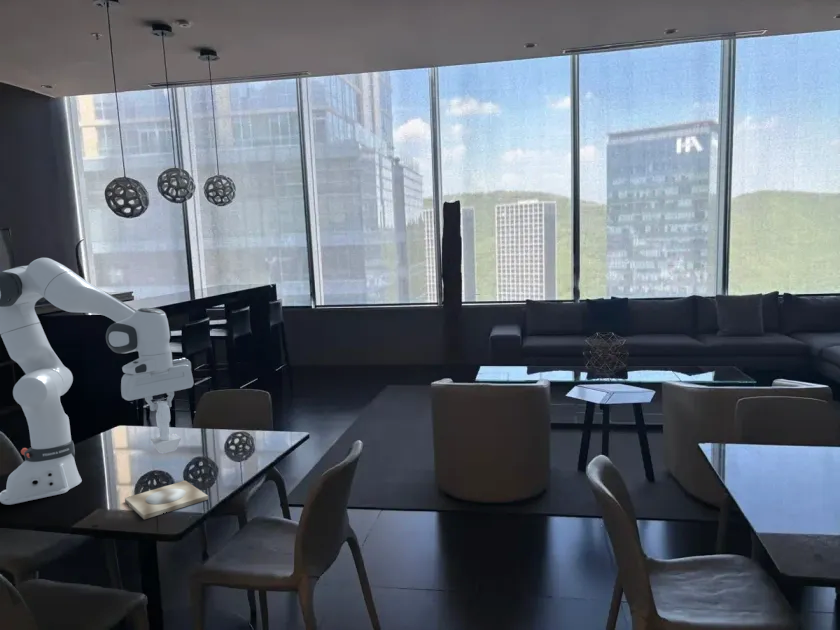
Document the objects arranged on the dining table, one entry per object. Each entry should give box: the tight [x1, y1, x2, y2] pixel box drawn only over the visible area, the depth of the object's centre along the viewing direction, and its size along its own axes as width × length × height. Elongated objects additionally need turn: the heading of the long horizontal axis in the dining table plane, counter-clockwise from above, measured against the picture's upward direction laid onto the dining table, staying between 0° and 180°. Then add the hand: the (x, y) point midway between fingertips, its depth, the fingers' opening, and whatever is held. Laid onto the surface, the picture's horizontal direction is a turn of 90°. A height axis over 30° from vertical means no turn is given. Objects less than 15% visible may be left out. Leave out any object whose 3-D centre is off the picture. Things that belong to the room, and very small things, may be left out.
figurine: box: [149, 400, 182, 455], centre depth 176 cm, size 7×9×15 cm
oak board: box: [124, 480, 209, 520], centre depth 176 cm, size 18×18×1 cm
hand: (161, 408), depth 175 cm, fingers closed on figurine, 3 cm apart
